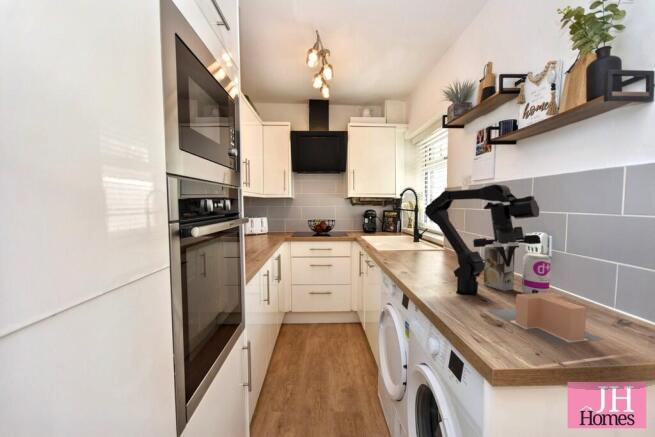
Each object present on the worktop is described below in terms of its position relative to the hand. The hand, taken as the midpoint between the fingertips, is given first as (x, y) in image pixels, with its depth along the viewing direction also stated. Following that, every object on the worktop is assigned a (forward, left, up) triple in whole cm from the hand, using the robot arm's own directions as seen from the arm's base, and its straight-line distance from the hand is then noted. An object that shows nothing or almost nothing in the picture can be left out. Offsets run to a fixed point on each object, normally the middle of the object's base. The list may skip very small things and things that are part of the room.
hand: (507, 266), depth 92 cm
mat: (+7, -14, -13) cm, 20 cm away
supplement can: (+9, +20, -13) cm, 25 cm away
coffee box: (-3, +22, -13) cm, 25 cm away
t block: (+10, -17, -12) cm, 24 cm away
